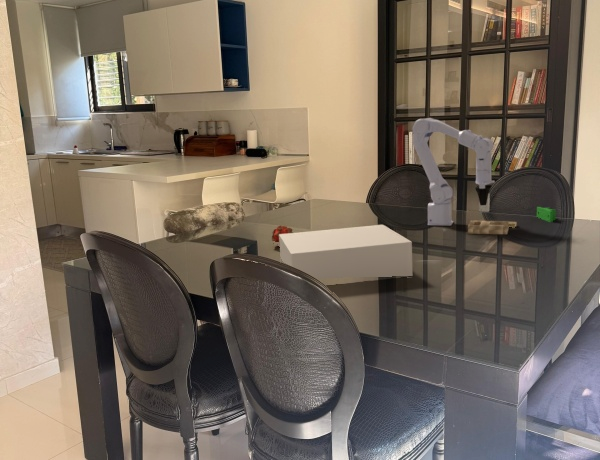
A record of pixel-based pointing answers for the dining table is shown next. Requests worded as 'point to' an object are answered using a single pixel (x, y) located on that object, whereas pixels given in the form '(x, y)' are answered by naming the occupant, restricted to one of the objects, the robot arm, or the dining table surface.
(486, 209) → the square bit
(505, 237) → the dining table surface
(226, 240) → the dining table surface
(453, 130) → the robot arm
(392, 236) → the box
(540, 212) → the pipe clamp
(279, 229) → the dragon fruit
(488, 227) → the socket block
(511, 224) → the tan rectangular block
